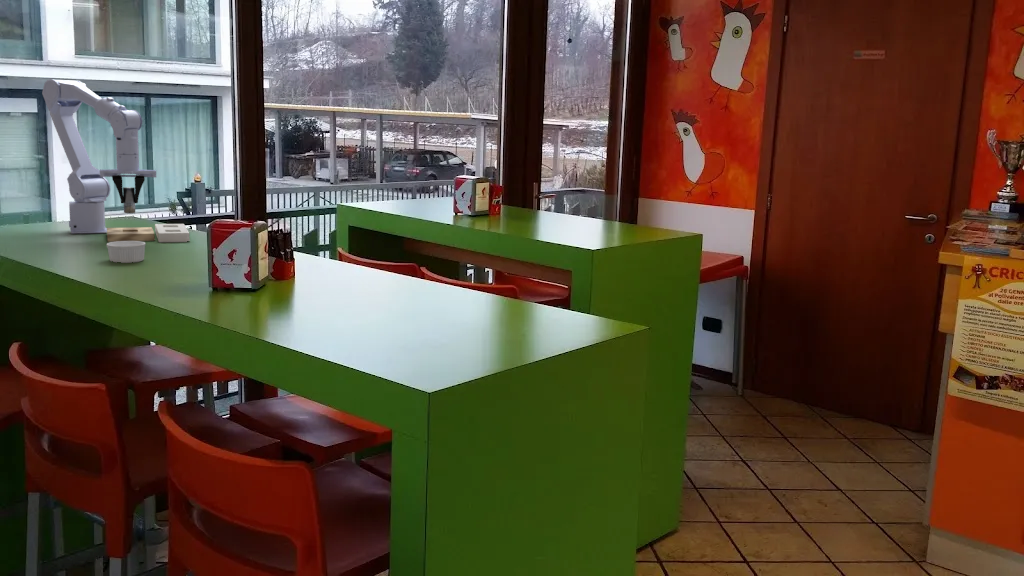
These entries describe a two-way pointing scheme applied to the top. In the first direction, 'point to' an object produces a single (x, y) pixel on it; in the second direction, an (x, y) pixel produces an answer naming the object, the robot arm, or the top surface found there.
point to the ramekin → (126, 251)
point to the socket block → (130, 234)
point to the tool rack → (171, 233)
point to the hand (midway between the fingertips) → (129, 202)
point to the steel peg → (129, 199)
